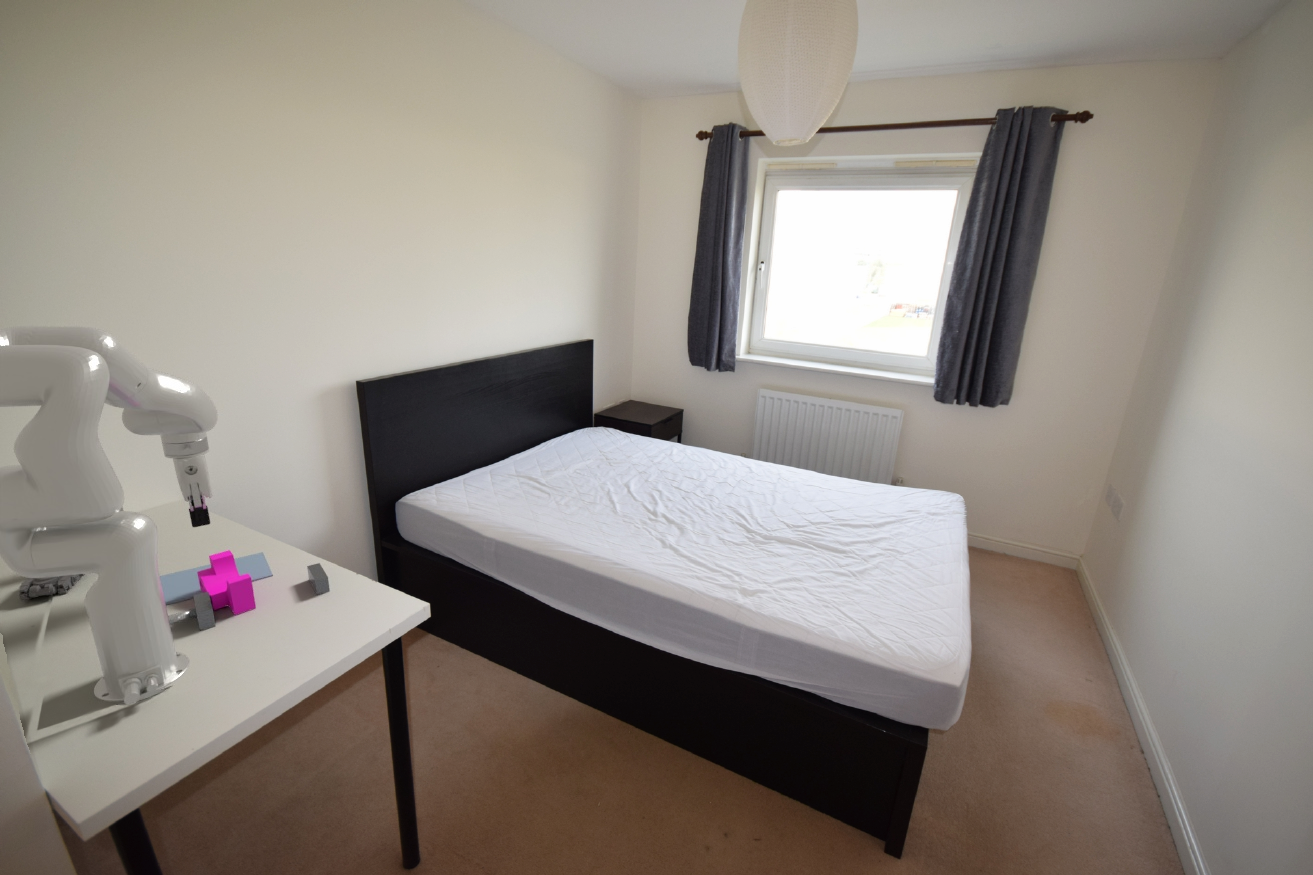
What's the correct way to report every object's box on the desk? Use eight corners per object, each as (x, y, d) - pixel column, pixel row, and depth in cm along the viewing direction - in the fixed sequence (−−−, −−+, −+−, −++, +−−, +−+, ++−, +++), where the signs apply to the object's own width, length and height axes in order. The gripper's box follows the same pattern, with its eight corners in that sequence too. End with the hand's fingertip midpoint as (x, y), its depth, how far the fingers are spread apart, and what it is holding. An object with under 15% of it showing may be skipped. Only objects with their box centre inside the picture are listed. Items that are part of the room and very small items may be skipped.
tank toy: (40, 577, 128) (34, 557, 127) (95, 570, 132) (90, 550, 131) (11, 605, 118) (5, 583, 117) (72, 596, 122) (66, 574, 121)
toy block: (200, 589, 125) (194, 559, 123) (234, 579, 129) (229, 550, 127) (220, 620, 116) (214, 588, 114) (256, 607, 120) (251, 577, 118)
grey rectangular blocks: (330, 592, 127) (328, 577, 126) (163, 641, 109) (159, 622, 108) (321, 578, 133) (319, 562, 132) (162, 621, 114) (158, 604, 113)
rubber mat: (273, 577, 132) (272, 574, 132) (148, 609, 118) (147, 606, 118) (263, 554, 142) (262, 552, 142) (146, 581, 128) (146, 579, 128)
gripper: (211, 453, 119) (226, 532, 124) (204, 435, 129) (218, 509, 135) (164, 459, 114) (181, 541, 119) (161, 440, 124) (177, 517, 130)
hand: (201, 524), depth 127 cm, fingers closed
